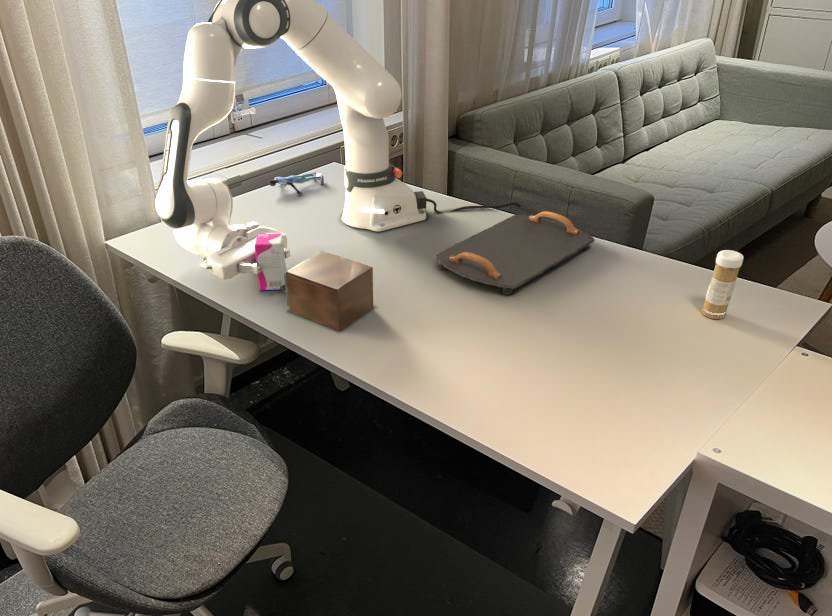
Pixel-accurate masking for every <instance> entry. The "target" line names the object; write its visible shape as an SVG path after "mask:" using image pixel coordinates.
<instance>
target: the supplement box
mask: <svg viewBox="0 0 832 616" xmlns="http://www.w3.org/2000/svg"><path fill="white" fill-rule="evenodd" d="M254 247H255V255H256V263H257V264H258V265H261V267H262V272H261V273H259V274H257V279H258V287H259V292H260V293H269V292H282V291H281V290H280V287H281V286H282V285H284V284H285V280H284V272H286V271H287V264H286V259H285V253H284V243H283V234H282V233H278V234H257V238H256V241H255V245H254Z"/></svg>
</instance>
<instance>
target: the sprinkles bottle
mask: <svg viewBox="0 0 832 616" xmlns="http://www.w3.org/2000/svg"><path fill="white" fill-rule="evenodd" d="M744 258H745V257H744V255H743V254H742V253H741V252H738V251H736V250H731V249H724V250H720V251H718V253H717V254H716V257H715V266H714V269H713V273H712V275H711V279H710V282H709V284H708V288H707V292H706V295H705V300H704V304H703V307H704V309H705V310H707V311H709V312H712V313H724V312H726V313H725V314H724V315H719V316H718V315H711V314H708V313H706V312H705V311H704V310H703V308H702V309H701V313H702V315H703V316H705V317H706V318H708V319H711V320H722V319H724V318H725V317H726V316H727V310H728V307H729V305H730V302H731V299H732V296H733V293H734V289H735V285H736V283H737V279H738V275H739V272H740V269H741V267H742V265H743V263H744Z"/></svg>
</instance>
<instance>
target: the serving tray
mask: <svg viewBox="0 0 832 616" xmlns="http://www.w3.org/2000/svg"><path fill="white" fill-rule="evenodd" d="M595 241H596V240H595V238H594V236H593V235H591V234H589V233H587V232H585V231H584V230H582V229H580V228H578V227H575V225H574V224H573V222H572V221H571V220H570V219H569V218H567V217H566V216H564V215H563V214H559V213H557V212H553V211H544V210H543V211H540V212H538V213H537V214H535V215H533V214H530V215H528V214H514V215H512V216H510V217H508V218H505V219H504V220H502V221H499V222H497V223H496V224H494V225H491V226H490V227H487V228H485V229H483V230H482V231H479V232H477V233H475V234H472V235H471V236H470V237H468V238H466V239H463V240H461V241H460V242H457V243H455V244H453V245H452V246H450V247H447V248H445V249H444V250H442V251H439V252H438V253H436V255H434V259H435V261H437V263H438V267H439V268H440V270H448V271H450V272H453V274H454V273H455V274H456V275H458V276H460V277H462V278H465V279H467V280H470V281H473V282H477V283H481V284H484V285H487V286H492V287H494V286H495V287H496V288H502V293H503V295H504V296H510V295H511V294H512V293H513V289H517V288H519V287H521V286H522V285H524V284H526V283H528V282H530V281H531V280H533V279H534V278H536V277H538V276H540V275H542V274H544V272H546V271H547V270H549V269H550V268H552V267H555V266H557V265H559V264H560V263H562V262H563V261H565V260H566V259H568V258H570V257H572V256H575V255H576V253H578V252H579V251H581V250H587V249H588V248H589V246H590V245H591V244H593V243H594V242H595Z"/></svg>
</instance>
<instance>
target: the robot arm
mask: <svg viewBox="0 0 832 616" xmlns="http://www.w3.org/2000/svg"><path fill="white" fill-rule="evenodd" d="M279 39H282V40H284V41H285V42H286V43H287V45H288V46H289V47H290V48H291V49H292V50H293V51H294V52H295V53H296V54H297V55H298V56H299V57H300V58H301V59H302V60H303V61H304V62H305V63H306V64H307V65H308V66H309V67H311V69H312V70H314V72H315V73H316V74H317V75H318V76H320V77H321V78H322V79H323V80H324V81H325V82H327V84H329V85H330V86H331V87H332V88H333V90H334V93H335V96H336V100H337V106H338V111H339V117H340V121H341V125H342V130H343V138H344V154H345V155H344V156H345V157H344V158H345V166H344V172H343V177H344V178H343V180H344V181H343V182H344V183H343V185H344V188H345V199H344V205H343V206H344V207H343V212H342V216H341V221H342V222H343V223H344V224H345V225H347V226H349V227H352V228H357V229H362V230H363V229H365V230H369V231H373V232H383V231H387V230H391V229H395V228H398V227H402V226H406V225H407V226H408V225H410V224H415V223H418V222H423V221H425V220H426V219H427V211H426V209H427V202H428V203H431V204H432V205H433V212H434V213H436V214H443V213H445V211H439V210H437V206H438V205H437V202H436V201H434V200H433V199H431V198H427V196H426V194H425V193H424V191H423V190H420V191H414V190H413V189H412V188H411V187H410V186H409V185H407V184H406V183H404V182H403V181H401V180H400V178H401V177H402V176H403V171H402V170H401V169H400V168H399V167H396V166H395V165H394V164H391V163H390V147H389V146H390V143H389V142H390V138H389V137H390V136H389V133H388V130H387V127H386V124H385V121H384V120H385V119H387V118H390V117H391V116H393V115H394V114H395V113H396V112H397V111H398V109H399V108H400V106H401V102H402V97H403V96H402V95H403V94H402V88H401V86H400V84H399V83H398V81H397V80H396V78H395V77H394V76H393V75H392V74H391V73H390V72H389V71H388V70H387V69H386V68H385V66H383V65H382V64H381V63H380V62H379V61H378V60H377V59H376V58H375V57H373V55H372V54H371V53H369V52H368V51H367V50H366V49H365V48H364V47H363V46H362V45H361V44H360V43H359V42H358V41H356V40H355V39H354V38H353V37H352V36H351V35H350V34H349V33H348V32H347V31H346V29H344V27H343V26H342V25H341V24H340V23H339V22H338V21H337V20H336V19H335V18H334V17H333V16H332V14H330V12H329V11H328V10H327V9H326V8H325V7H324V6H323V5H322V4H321V3H320V2H319V1H318V0H219V1H218V2H217V3H216V5H215V7H214V9H213V11H212V13H211V15H210V17H209V18H208V20H207V22H201V23H196V24H195V25H193V26H192V27H191V28H190V29H189V31H188V33H187V36H186V42H185V48H184V54H183V64H182V65H183V66H182V87H181V91H180V95H179V99H178V100H177V103H176V105H174V107H172V109H171V110H170V113H169V117H168V120H167V127H166V133H165V141H164V146H163V155H162V162H161V164H162V165H161V172H160V177H159V182H158V185H157V189H156V192H155V196H154V209H155V213H156V215H157V217H158V218H159V219H160V220H161V221H162V222H163V223H164V224H165V225H167V226H168V227H170V228H172V229H173V236H174V239H175V241H176V242H177V244H178V245H180V246H181V247H182V248H183V249H184V250H186V251H187V252H190V253H192V254H193V255H197V256H198V257H201V258H202V259H201V261H200V262H199V265H200V267H201V268H203V269H206V270H208V272H210V273H211V275H214V276H215V277H217V278H220V279H222V280H232V279H233V278H235V277H237V276H239V275H240V274H243V275H245V274H253V275H257V276H258V274H259V273H261V272H262V267H261V265H258V264H257V263H256V255H255V247H254V245H255V241H256V238H257V234H278V233H282V234H283V243H284V253H285V260H286V259H288V258H290V257H291V251H290V249H288V245H289V244H288V237H287V235H286V233H285V231H281V230H279V229H276V228H273V227H269V226H264V225H263V226H260V223H259V222H256V221H250V222H247V223H243V224H233V225H230V223H231V219H232V214H233V208H234V200H233V194H232V192H231V190H230V188H229V187H228V185H227V184H226V183H225V182H224V181H223V180H222V179H219V178H205V179H197V180H189V179H188V178H189V171H190V166H191V165H190V164H191V157H192V149H193V145H194V143H195V141H196V140H197V138H198V137H199V136H200V135H201V134H202V133H204V131H206V130H208V129H209V128H211V127H213V126H214V125H217V124H219V123H220V122H222V121H223V120H225V119H226V118H227V116H228V115H230V113H231V111H232V110H233V108H234V107H233V106H234V103H235V97H236V96H235V95H236V65H237V60H238V58H239V55H240V53H241V52H242V51H243V49H245V50H246V49H247V50H251V49H264V48H267V47H269V46H271V45H273V44H275V43H276V42H277V41H278V40H279ZM508 206H516V207H518V208H522V205H521V204H520V203H518V202H516V201H511V202H510V201H509V202H507V203H504V204H492V205H465V206H460V207H457V208H453V209H451V210H448V211H447V213H452V212H458V211H462V210H469V209H470V210H471V209H500V208H505V207H508Z"/></svg>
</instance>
